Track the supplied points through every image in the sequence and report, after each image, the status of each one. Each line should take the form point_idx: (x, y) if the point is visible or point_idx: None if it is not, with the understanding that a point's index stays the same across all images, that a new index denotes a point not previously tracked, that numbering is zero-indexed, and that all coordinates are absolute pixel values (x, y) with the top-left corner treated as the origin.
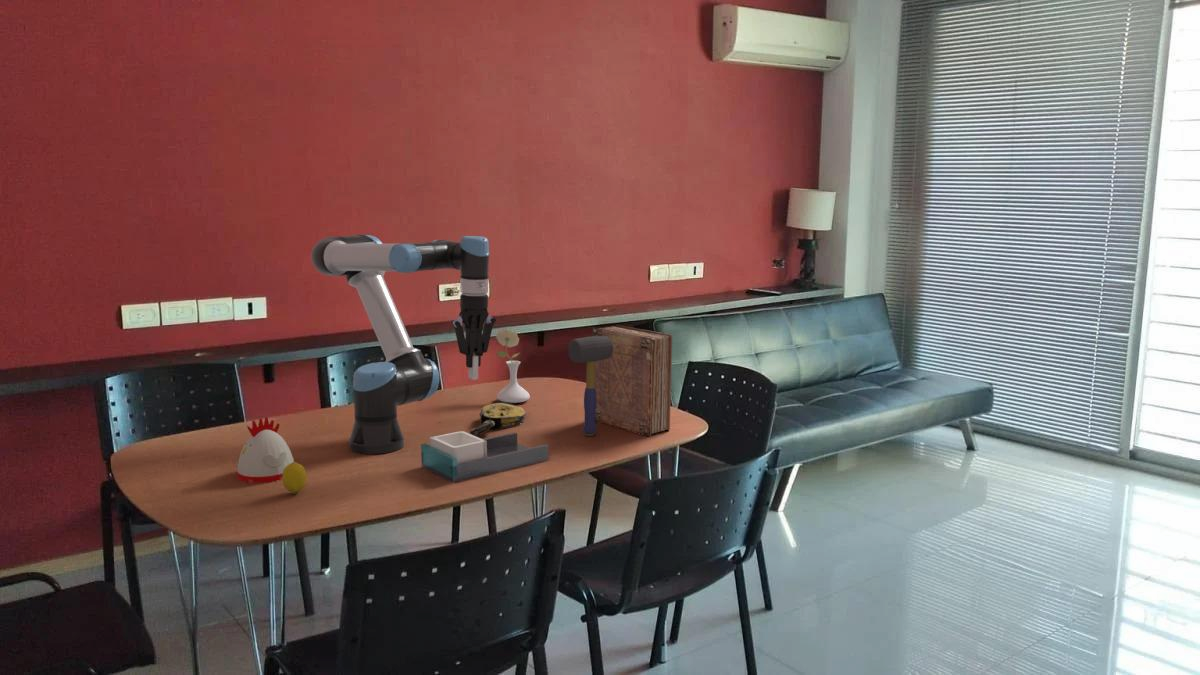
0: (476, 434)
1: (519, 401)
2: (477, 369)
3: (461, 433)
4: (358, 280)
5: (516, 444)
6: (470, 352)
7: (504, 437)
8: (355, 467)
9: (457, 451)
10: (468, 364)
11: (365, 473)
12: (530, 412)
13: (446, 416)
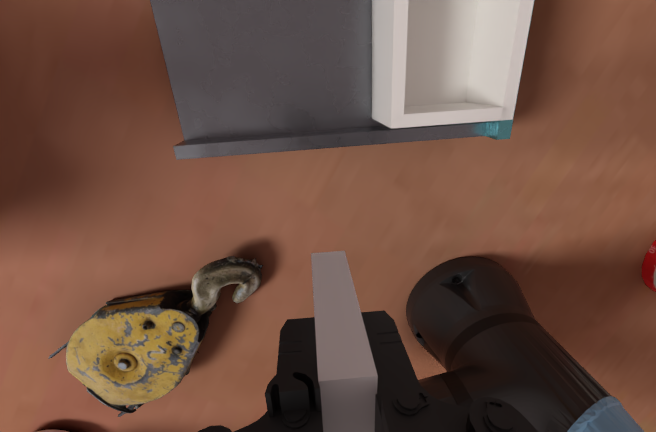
0: (255, 259)
1: (52, 430)
2: (319, 290)
3: (403, 112)
4: None
5: (191, 131)
6: (435, 425)
7: (224, 141)
8: (571, 205)
9: None
10: (397, 330)
11: (585, 156)
12: (50, 355)
13: (244, 408)
